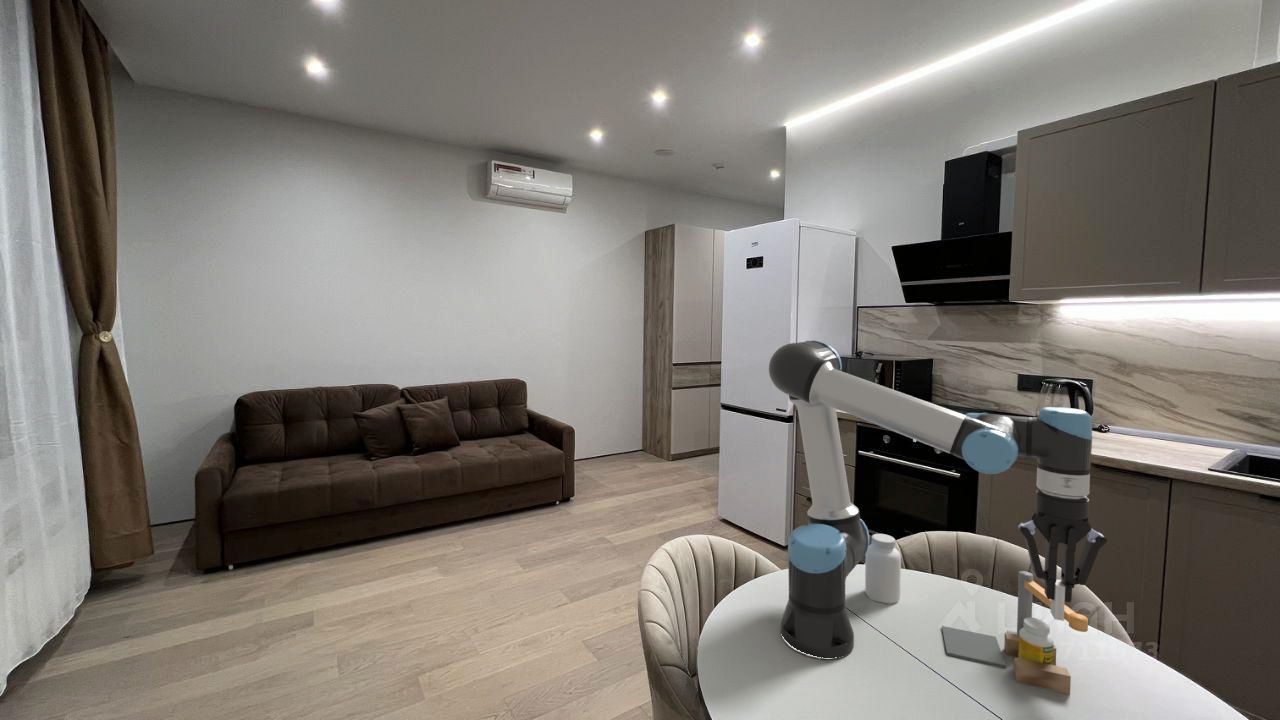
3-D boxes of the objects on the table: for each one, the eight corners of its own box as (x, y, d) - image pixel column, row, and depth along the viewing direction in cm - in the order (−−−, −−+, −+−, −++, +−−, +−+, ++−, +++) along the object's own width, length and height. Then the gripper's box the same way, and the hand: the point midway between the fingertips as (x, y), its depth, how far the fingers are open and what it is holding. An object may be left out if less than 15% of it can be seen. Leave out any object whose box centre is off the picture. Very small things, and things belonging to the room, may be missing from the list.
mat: (946, 654, 105) (946, 652, 105) (941, 627, 114) (941, 625, 114) (1005, 667, 101) (1005, 665, 101) (995, 638, 110) (995, 636, 110)
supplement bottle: (1024, 657, 104) (1026, 612, 103) (1057, 672, 99) (1058, 624, 99) (1013, 667, 101) (1014, 621, 100) (1046, 683, 96) (1047, 634, 96)
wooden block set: (1016, 682, 97) (1017, 664, 97) (998, 632, 112) (998, 616, 112) (1070, 694, 93) (1070, 676, 93) (1043, 641, 109) (1044, 625, 108)
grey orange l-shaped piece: (1073, 692, 92) (1076, 617, 91) (1013, 635, 109) (1015, 571, 108) (1088, 693, 92) (1092, 617, 91) (1026, 635, 109) (1028, 571, 108)
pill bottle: (901, 592, 129) (902, 535, 128) (898, 608, 122) (899, 547, 121) (867, 584, 133) (868, 528, 132) (862, 599, 127) (863, 540, 125)
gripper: (1023, 494, 93) (1019, 618, 95) (1116, 503, 88) (1109, 636, 89) (1014, 482, 100) (1010, 598, 102) (1099, 490, 94) (1094, 613, 96)
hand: (1057, 616), depth 95 cm, fingers closed
